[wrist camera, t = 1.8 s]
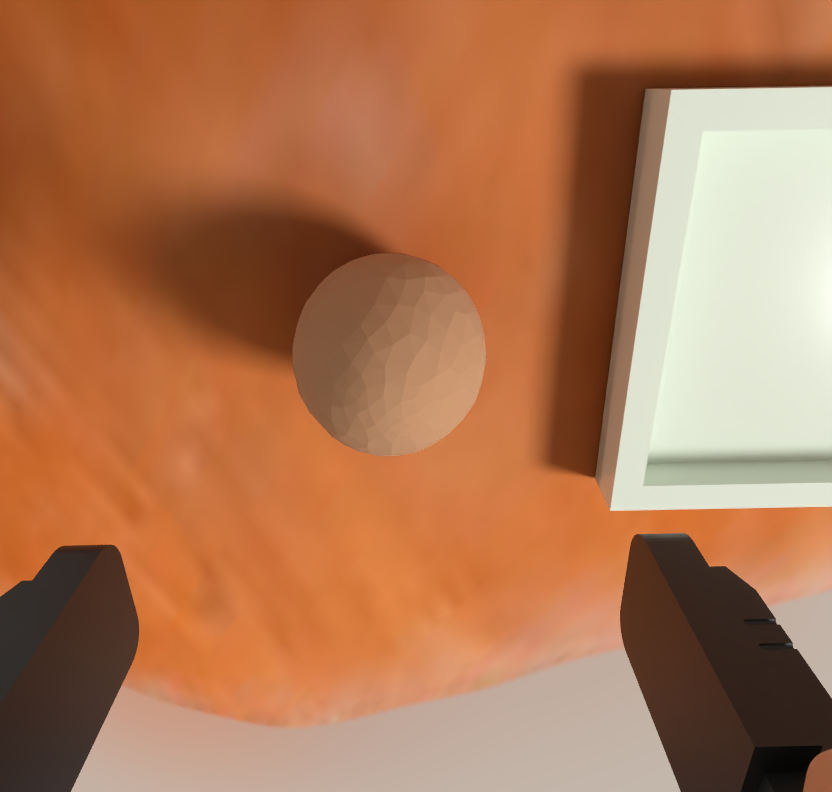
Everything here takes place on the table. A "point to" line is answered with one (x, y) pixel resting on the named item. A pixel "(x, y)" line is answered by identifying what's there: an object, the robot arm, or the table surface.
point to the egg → (389, 354)
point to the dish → (724, 306)
